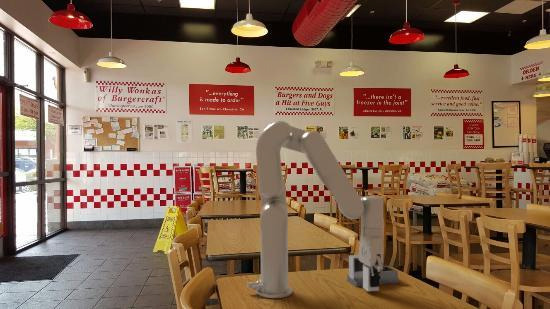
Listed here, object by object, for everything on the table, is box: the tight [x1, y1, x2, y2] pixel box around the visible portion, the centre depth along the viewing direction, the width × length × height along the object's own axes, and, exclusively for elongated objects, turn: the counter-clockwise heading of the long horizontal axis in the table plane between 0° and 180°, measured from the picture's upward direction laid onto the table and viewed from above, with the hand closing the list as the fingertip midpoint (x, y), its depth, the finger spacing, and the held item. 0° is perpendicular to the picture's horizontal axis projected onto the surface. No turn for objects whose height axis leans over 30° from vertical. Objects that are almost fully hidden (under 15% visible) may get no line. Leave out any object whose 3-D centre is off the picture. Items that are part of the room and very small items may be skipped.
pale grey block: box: [362, 264, 380, 292], centre depth 141 cm, size 4×4×8 cm
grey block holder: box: [346, 254, 400, 288], centre depth 153 cm, size 17×8×10 cm, turn 104°
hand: (371, 283), depth 141 cm, fingers closed on pale grey block, 4 cm apart
